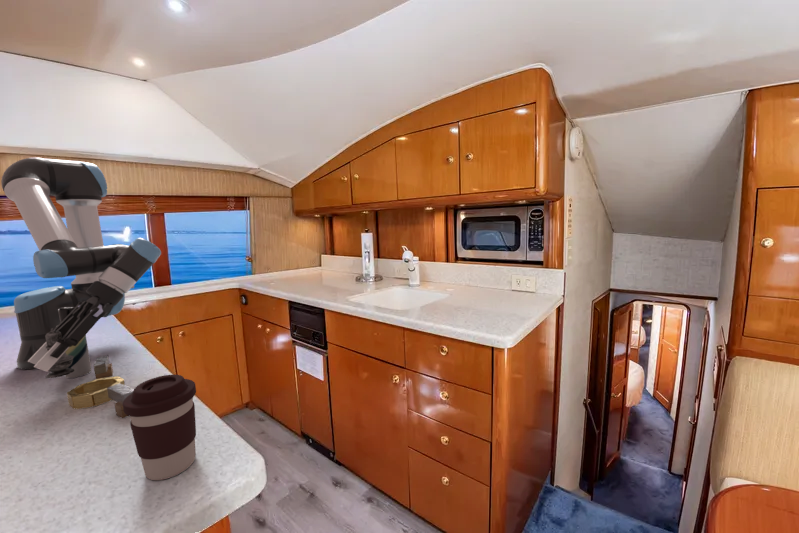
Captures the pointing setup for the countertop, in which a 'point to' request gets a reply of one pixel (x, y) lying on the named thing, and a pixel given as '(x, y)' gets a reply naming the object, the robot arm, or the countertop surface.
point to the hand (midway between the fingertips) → (37, 366)
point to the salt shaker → (63, 362)
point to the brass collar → (92, 392)
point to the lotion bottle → (77, 351)
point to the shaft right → (119, 397)
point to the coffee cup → (163, 424)
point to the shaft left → (103, 367)
